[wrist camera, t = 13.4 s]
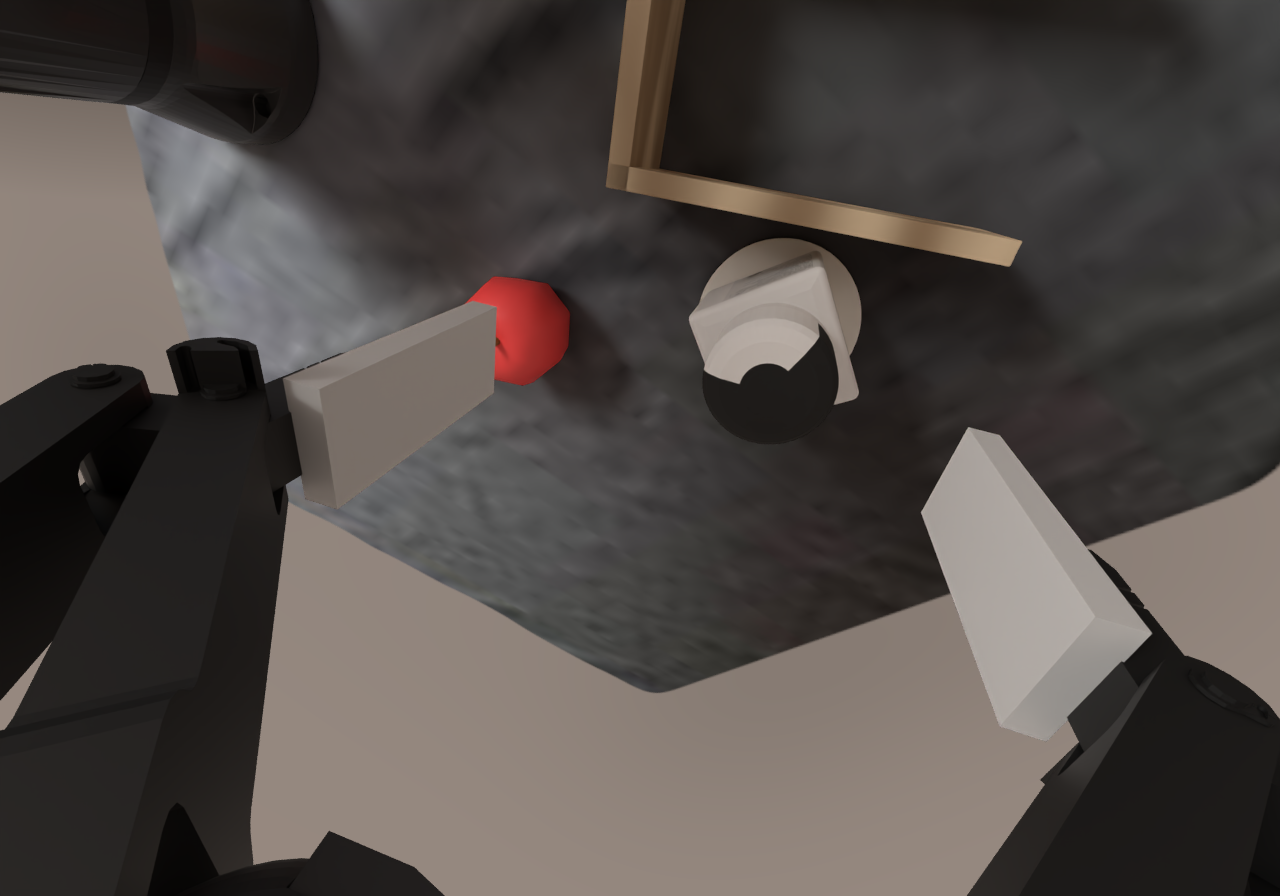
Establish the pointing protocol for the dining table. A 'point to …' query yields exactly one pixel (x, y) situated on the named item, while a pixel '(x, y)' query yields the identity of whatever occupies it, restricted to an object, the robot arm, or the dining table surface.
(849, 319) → the trivet
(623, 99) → the tan open-ended frame
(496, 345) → the apple
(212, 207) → the dining table surface
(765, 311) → the container
